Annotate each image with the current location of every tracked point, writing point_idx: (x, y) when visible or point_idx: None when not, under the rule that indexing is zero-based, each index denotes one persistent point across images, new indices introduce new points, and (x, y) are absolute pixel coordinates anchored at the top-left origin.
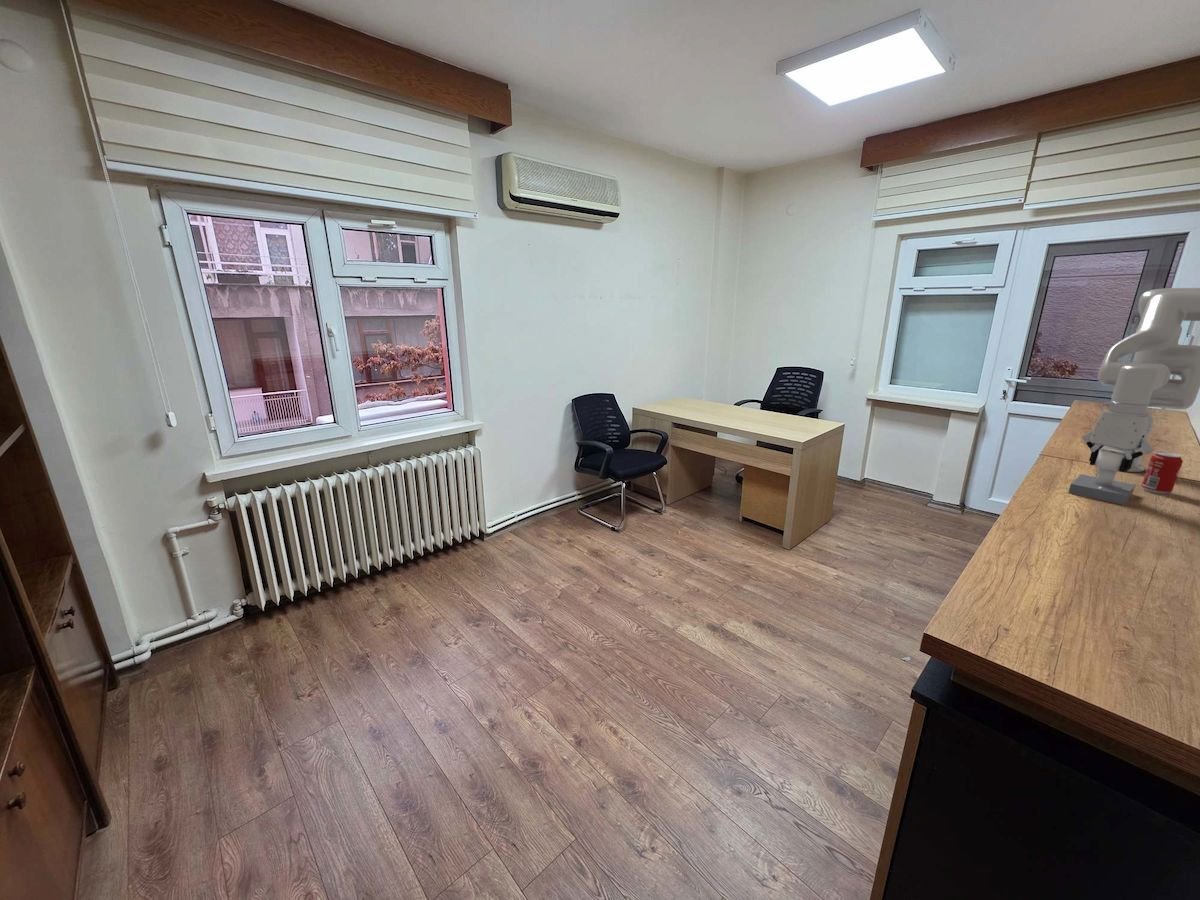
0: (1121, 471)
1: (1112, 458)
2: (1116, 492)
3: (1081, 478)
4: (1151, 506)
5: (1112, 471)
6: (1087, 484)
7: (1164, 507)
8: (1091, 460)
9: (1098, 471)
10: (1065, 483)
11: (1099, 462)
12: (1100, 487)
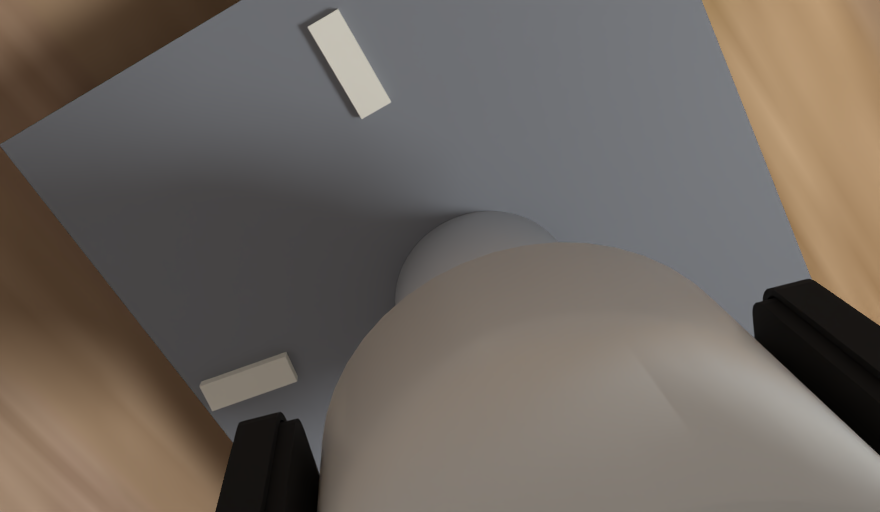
0: (250, 421)
1: (436, 467)
2: (143, 114)
3: (747, 248)
4: (33, 398)
5: None
6: (524, 47)
7: (4, 497)
8: (852, 319)
9: None
10: (838, 194)
11: (650, 297)
12: (352, 76)
